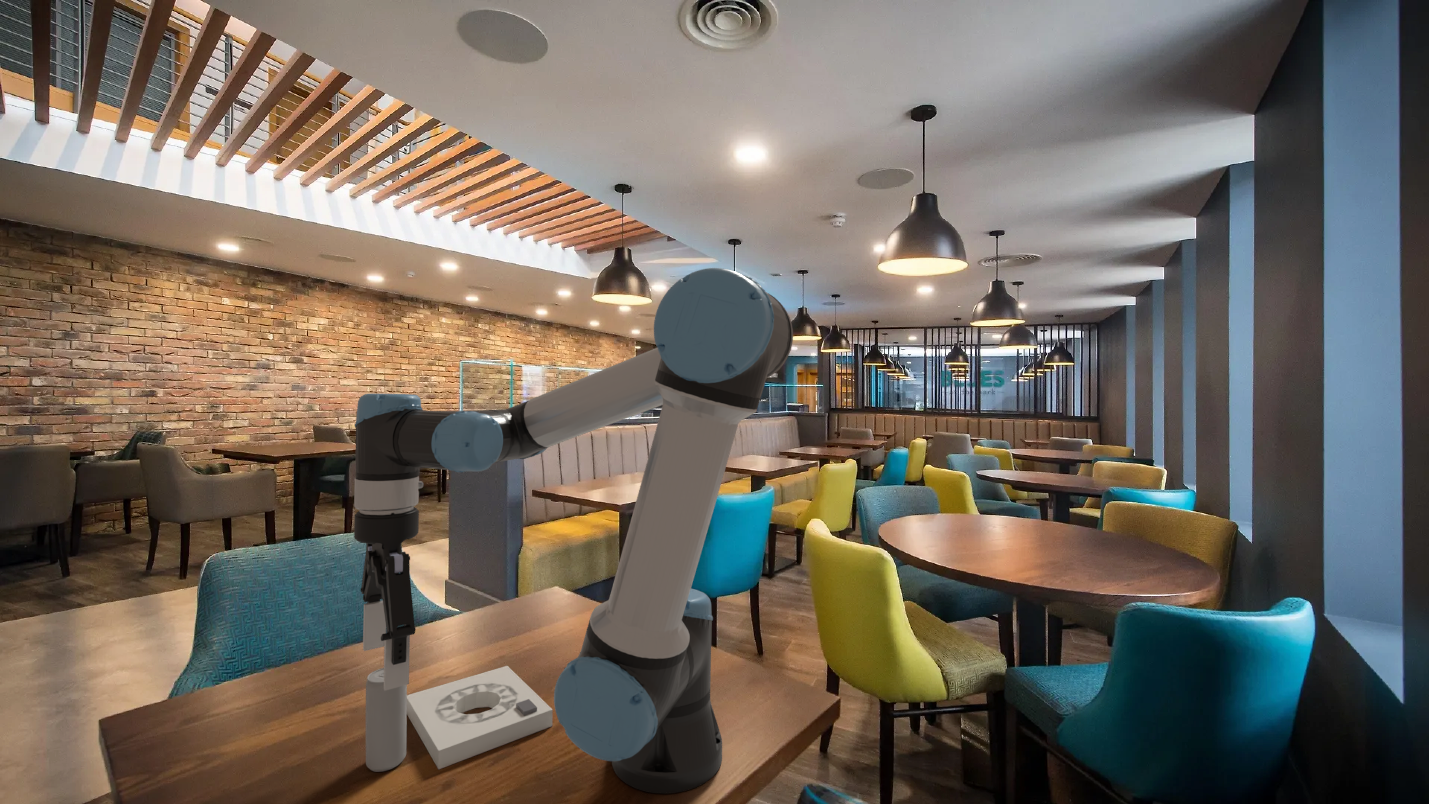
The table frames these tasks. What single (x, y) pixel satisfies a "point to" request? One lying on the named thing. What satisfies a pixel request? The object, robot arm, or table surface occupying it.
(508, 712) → the socket plate
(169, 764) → the table surface
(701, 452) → the robot arm
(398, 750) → the beverage can
